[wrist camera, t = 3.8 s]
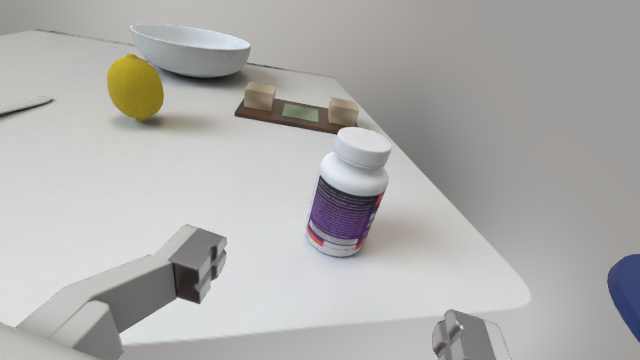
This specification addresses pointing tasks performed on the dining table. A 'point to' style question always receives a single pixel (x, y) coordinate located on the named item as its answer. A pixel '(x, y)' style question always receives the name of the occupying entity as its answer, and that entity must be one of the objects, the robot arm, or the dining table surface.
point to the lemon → (135, 87)
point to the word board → (296, 110)
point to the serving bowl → (190, 49)
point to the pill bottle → (348, 191)
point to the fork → (24, 104)
